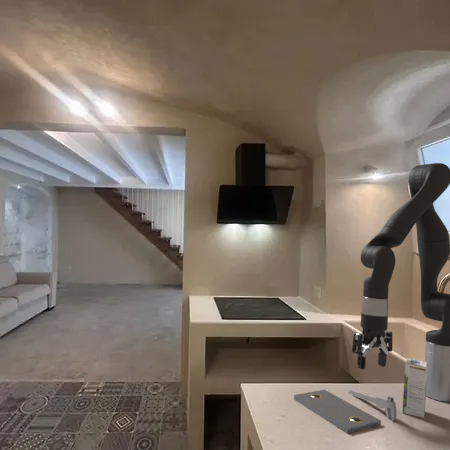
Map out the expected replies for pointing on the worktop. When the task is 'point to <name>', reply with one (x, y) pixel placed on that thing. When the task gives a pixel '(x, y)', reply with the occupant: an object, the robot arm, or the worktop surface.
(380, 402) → the caliper
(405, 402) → the syrup box
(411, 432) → the worktop surface
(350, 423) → the hole plate
